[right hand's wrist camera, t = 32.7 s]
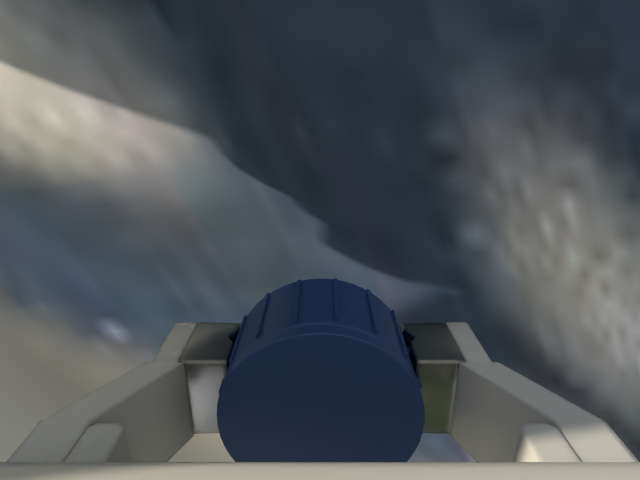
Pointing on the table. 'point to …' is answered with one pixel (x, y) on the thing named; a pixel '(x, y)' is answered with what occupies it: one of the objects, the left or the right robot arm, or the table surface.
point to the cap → (320, 380)
